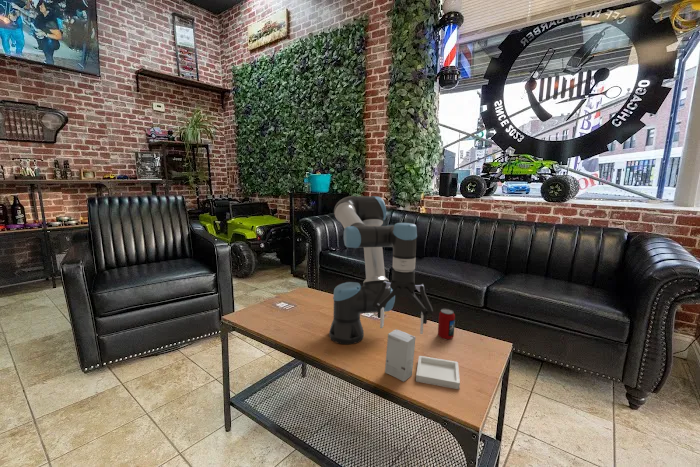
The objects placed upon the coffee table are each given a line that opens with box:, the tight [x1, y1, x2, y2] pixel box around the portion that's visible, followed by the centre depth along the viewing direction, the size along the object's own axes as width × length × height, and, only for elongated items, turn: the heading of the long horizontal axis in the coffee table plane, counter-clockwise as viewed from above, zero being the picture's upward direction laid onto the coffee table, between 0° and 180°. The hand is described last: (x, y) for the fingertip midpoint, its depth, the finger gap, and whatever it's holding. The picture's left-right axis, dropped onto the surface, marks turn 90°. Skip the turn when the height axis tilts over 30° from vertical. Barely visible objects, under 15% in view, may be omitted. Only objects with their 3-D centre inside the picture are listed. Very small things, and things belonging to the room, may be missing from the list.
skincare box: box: [384, 329, 416, 383], centre depth 108 cm, size 8×6×15 cm
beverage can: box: [437, 308, 456, 340], centre depth 136 cm, size 7×7×12 cm
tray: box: [415, 355, 461, 390], centre depth 109 cm, size 14×13×2 cm
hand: (401, 329), depth 107 cm, fingers open, 13 cm apart
